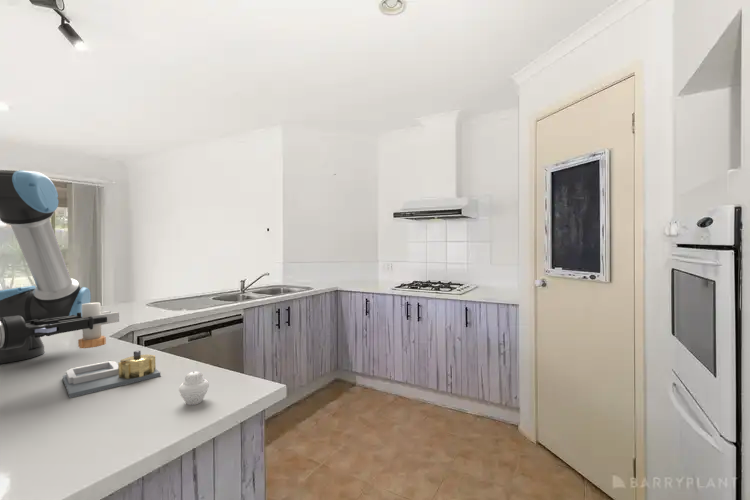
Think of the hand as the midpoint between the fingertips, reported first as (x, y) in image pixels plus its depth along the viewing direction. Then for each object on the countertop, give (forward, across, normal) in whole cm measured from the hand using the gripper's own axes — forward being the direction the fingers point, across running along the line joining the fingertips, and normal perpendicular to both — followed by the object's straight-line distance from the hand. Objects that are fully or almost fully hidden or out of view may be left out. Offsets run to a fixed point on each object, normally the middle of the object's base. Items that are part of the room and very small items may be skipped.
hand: (114, 316), depth 101 cm
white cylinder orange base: (-5, 0, -7) cm, 9 cm away
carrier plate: (-3, +4, -16) cm, 17 cm away
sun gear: (+1, +10, -16) cm, 19 cm away
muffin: (-2, +40, -16) cm, 43 cm away
